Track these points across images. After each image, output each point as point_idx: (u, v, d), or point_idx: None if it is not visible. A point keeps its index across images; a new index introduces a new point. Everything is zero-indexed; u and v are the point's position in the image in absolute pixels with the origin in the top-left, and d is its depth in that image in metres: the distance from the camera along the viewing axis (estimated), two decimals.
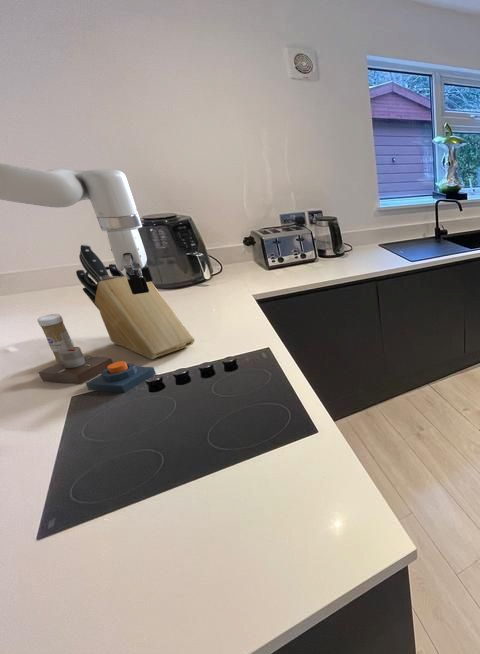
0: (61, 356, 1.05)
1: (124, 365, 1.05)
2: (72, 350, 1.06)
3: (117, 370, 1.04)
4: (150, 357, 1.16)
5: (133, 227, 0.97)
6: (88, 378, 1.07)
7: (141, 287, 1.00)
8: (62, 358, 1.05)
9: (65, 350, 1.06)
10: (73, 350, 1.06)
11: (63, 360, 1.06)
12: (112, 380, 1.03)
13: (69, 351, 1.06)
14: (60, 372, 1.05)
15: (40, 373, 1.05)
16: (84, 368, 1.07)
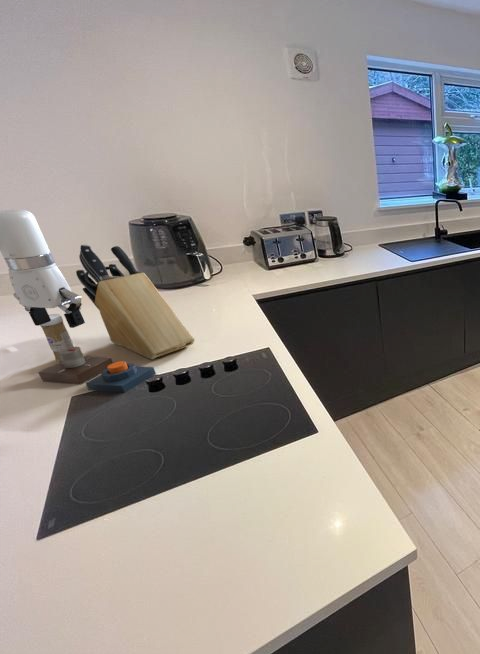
0: (61, 356, 1.05)
1: (124, 365, 1.05)
2: (72, 350, 1.06)
3: (117, 370, 1.04)
4: (150, 357, 1.16)
5: (54, 263, 1.00)
6: (88, 378, 1.07)
7: (80, 318, 1.03)
8: (62, 358, 1.05)
9: (65, 350, 1.06)
10: (73, 350, 1.06)
11: (63, 360, 1.06)
12: (112, 380, 1.03)
13: (69, 351, 1.06)
14: (60, 372, 1.05)
15: (40, 373, 1.05)
16: (84, 368, 1.07)
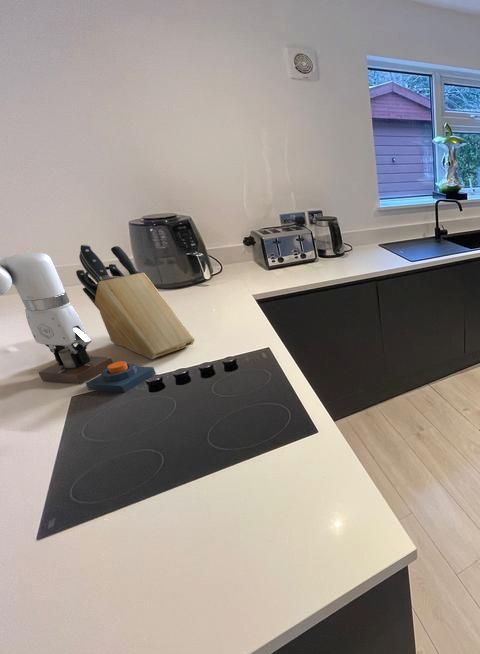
0: (61, 356, 1.05)
1: (124, 365, 1.05)
2: None
3: (117, 370, 1.04)
4: (150, 357, 1.16)
5: (69, 302, 1.04)
6: (88, 378, 1.07)
7: (86, 357, 1.08)
8: (62, 358, 1.05)
9: (65, 350, 1.06)
10: None
11: (63, 360, 1.06)
12: (112, 380, 1.03)
13: (69, 351, 1.06)
14: (60, 372, 1.05)
15: (40, 373, 1.05)
16: (84, 368, 1.07)
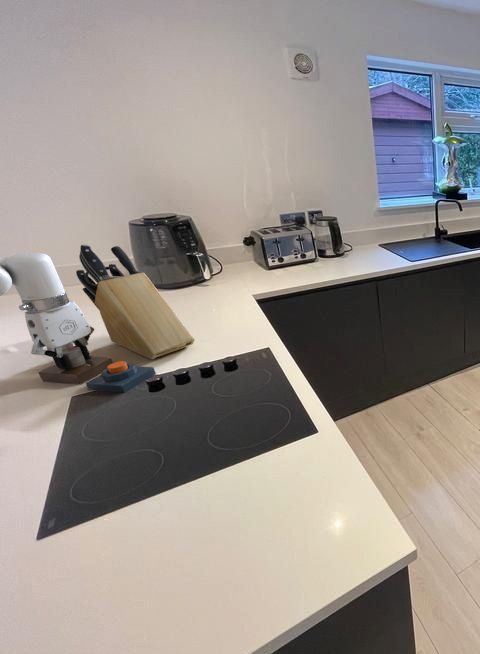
0: (76, 353, 1.07)
1: (124, 365, 1.05)
2: (75, 347, 1.08)
3: (117, 370, 1.04)
4: (150, 357, 1.16)
5: None
6: (88, 378, 1.07)
7: None
8: (77, 355, 1.07)
9: (67, 351, 1.06)
10: (76, 346, 1.08)
11: (78, 357, 1.07)
12: (112, 380, 1.03)
13: (75, 348, 1.08)
14: (60, 372, 1.05)
15: (40, 373, 1.05)
16: (84, 368, 1.07)
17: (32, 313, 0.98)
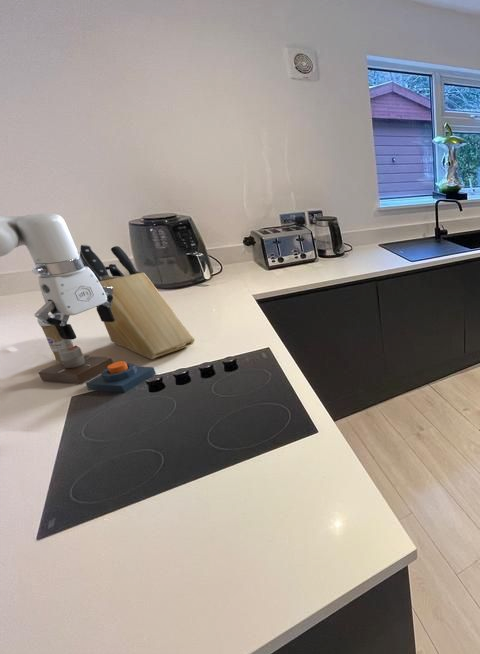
0: (76, 353, 1.07)
1: (124, 365, 1.05)
2: (75, 347, 1.08)
3: (117, 370, 1.04)
4: (150, 357, 1.16)
5: None
6: (88, 378, 1.07)
7: None
8: (77, 355, 1.07)
9: (67, 351, 1.06)
10: (76, 346, 1.08)
11: (78, 357, 1.07)
12: (112, 380, 1.03)
13: (75, 348, 1.08)
14: (60, 372, 1.05)
15: (40, 373, 1.05)
16: (84, 368, 1.07)
17: (46, 277, 0.92)
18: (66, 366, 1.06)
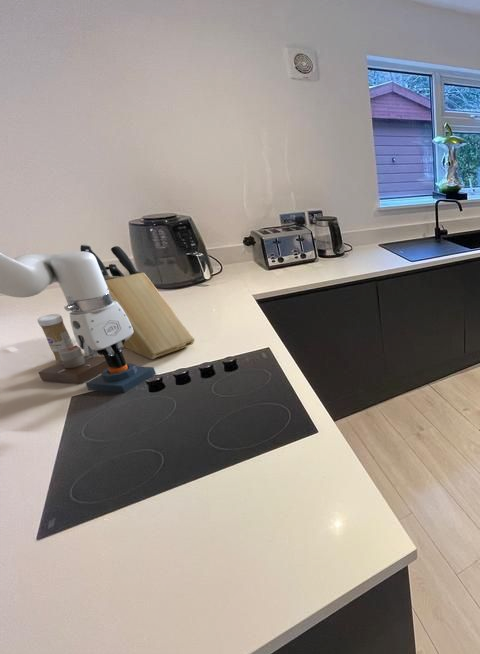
0: (76, 353, 1.07)
1: (125, 366, 1.05)
2: (75, 347, 1.08)
3: (117, 371, 1.04)
4: (150, 357, 1.16)
5: None
6: (88, 378, 1.07)
7: None
8: (77, 355, 1.07)
9: (67, 351, 1.06)
10: (76, 346, 1.08)
11: (78, 357, 1.07)
12: (112, 380, 1.03)
13: (75, 348, 1.08)
14: (60, 372, 1.05)
15: (40, 373, 1.05)
16: (84, 368, 1.07)
17: (77, 314, 0.95)
18: (66, 366, 1.06)
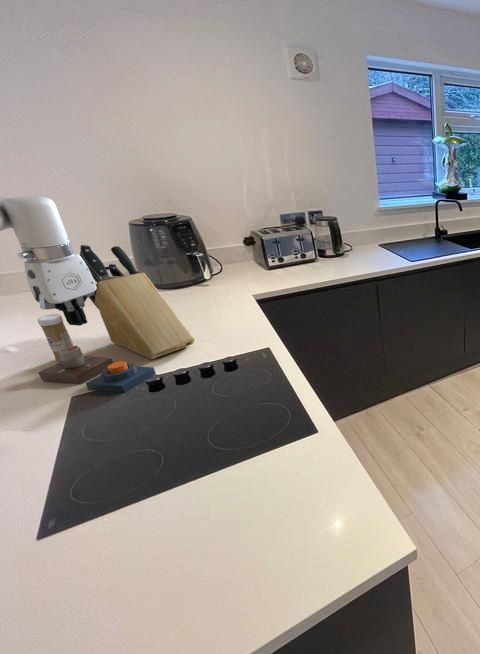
0: (76, 353, 1.07)
1: (124, 365, 1.05)
2: (75, 347, 1.08)
3: (117, 370, 1.04)
4: (150, 357, 1.16)
5: None
6: (88, 378, 1.07)
7: None
8: (77, 355, 1.07)
9: (67, 351, 1.06)
10: (76, 346, 1.08)
11: (78, 357, 1.07)
12: (112, 380, 1.03)
13: (75, 348, 1.08)
14: (60, 372, 1.05)
15: (40, 373, 1.05)
16: (84, 368, 1.07)
17: (33, 262, 0.88)
18: (66, 366, 1.06)
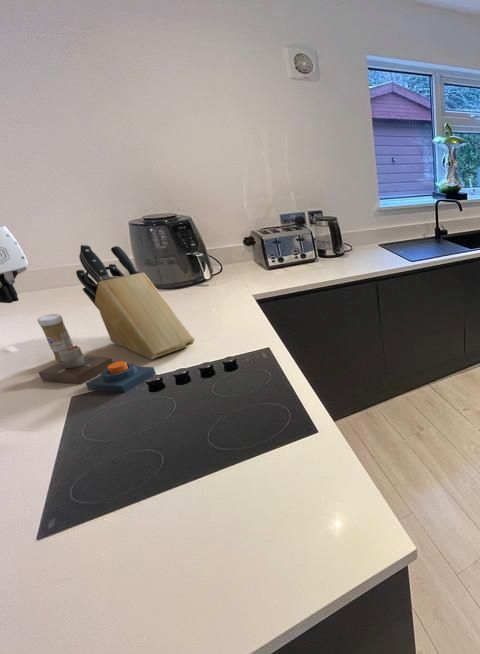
0: (76, 353, 1.07)
1: (124, 365, 1.05)
2: (75, 347, 1.08)
3: (117, 370, 1.04)
4: (150, 357, 1.16)
5: None
6: (88, 378, 1.07)
7: None
8: (77, 355, 1.07)
9: (67, 351, 1.06)
10: (76, 346, 1.08)
11: (78, 357, 1.07)
12: (112, 380, 1.03)
13: (75, 348, 1.08)
14: (60, 372, 1.05)
15: (40, 373, 1.05)
16: (84, 368, 1.07)
17: None
18: (66, 366, 1.06)
